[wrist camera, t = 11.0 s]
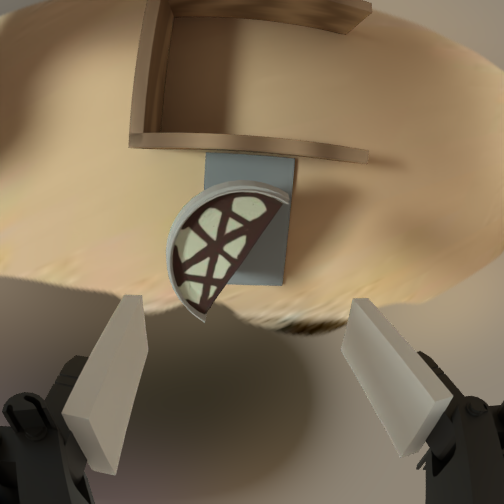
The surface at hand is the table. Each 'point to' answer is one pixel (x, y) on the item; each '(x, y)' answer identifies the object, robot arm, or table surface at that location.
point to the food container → (217, 238)
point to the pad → (276, 233)
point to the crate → (235, 6)
